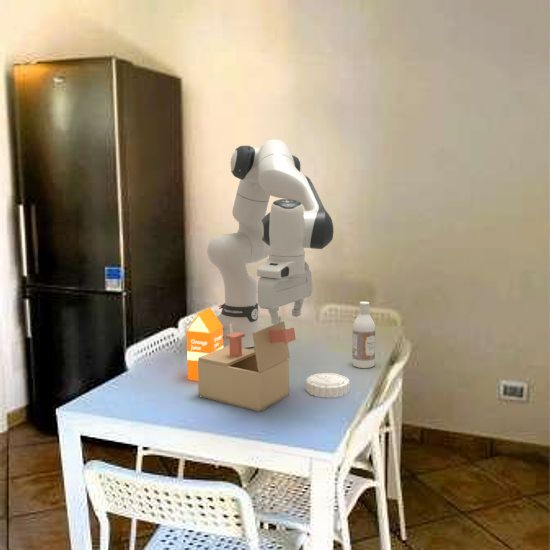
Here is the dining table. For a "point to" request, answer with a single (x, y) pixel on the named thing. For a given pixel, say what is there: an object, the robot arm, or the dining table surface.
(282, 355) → the flap right
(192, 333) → the orange juice
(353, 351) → the bath foam
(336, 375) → the mooncake
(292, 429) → the dining table surface
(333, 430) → the dining table surface
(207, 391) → the carton
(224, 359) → the flap left
